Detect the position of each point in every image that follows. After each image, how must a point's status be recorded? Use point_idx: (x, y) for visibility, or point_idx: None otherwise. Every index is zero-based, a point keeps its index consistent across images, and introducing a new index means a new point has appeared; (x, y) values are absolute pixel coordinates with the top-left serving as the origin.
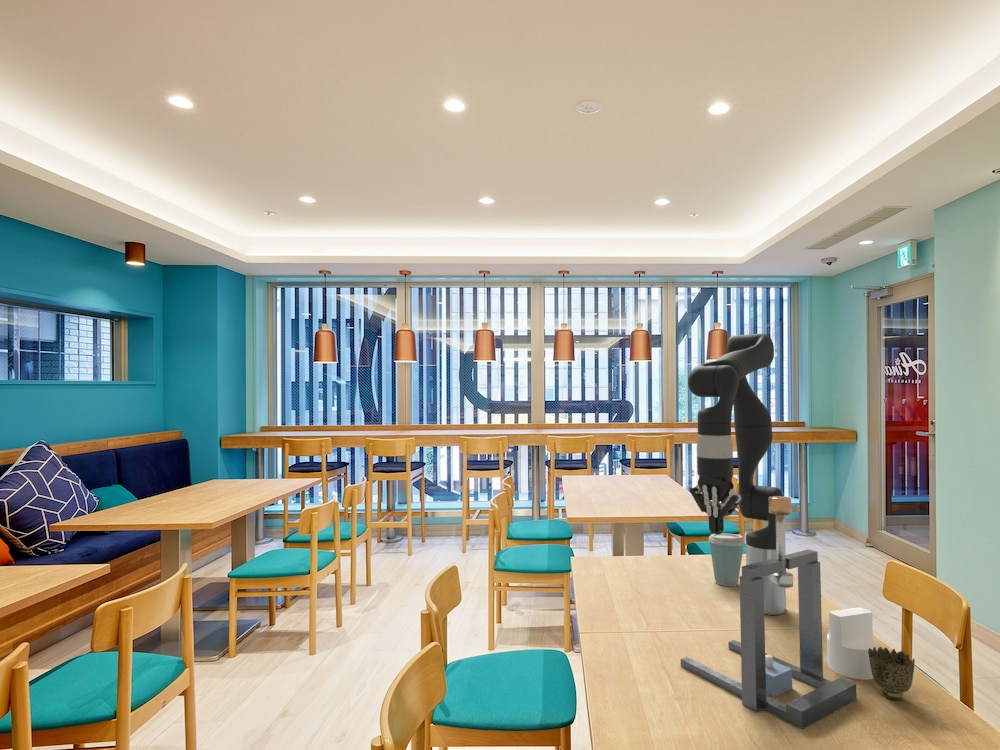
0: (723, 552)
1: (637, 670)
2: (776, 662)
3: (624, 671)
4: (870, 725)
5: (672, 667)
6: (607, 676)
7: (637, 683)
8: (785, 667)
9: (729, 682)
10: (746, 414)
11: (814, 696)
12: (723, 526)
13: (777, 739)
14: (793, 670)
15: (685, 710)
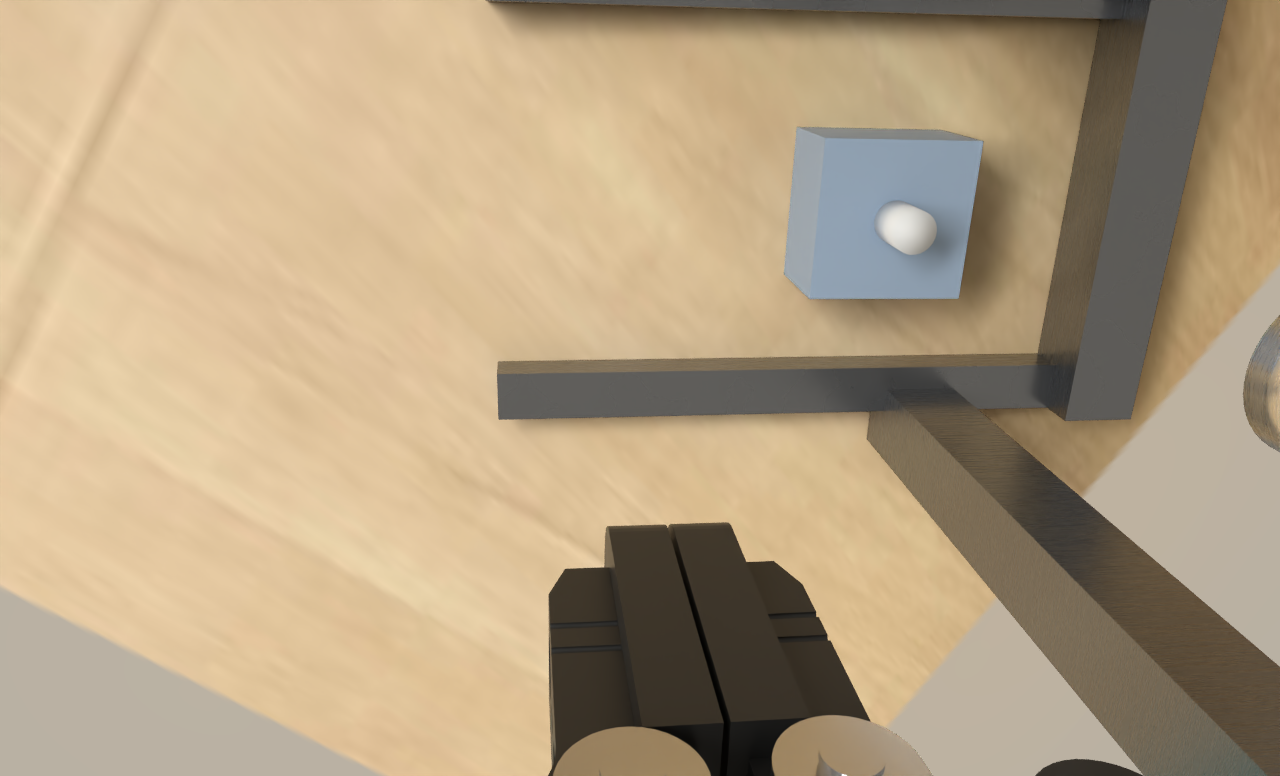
0: None
1: (427, 594)
2: (898, 143)
3: (405, 644)
4: (1268, 141)
5: (488, 447)
6: (405, 722)
7: (515, 660)
8: (954, 155)
9: (782, 405)
10: None
11: (1127, 265)
12: (820, 625)
13: None
14: (911, 12)
15: None
